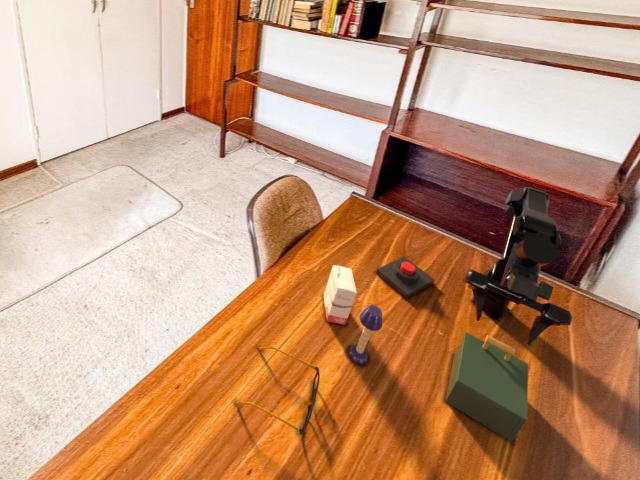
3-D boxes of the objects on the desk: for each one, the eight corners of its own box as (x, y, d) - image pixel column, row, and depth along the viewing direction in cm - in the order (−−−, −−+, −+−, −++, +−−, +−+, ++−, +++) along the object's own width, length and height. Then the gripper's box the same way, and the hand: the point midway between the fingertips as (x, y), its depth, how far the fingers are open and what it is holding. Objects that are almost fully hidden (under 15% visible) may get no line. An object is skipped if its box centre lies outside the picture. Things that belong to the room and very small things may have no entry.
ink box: (347, 326, 101) (357, 293, 96) (326, 322, 102) (336, 289, 97) (342, 298, 109) (351, 266, 104) (323, 294, 110) (331, 263, 104)
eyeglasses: (304, 444, 77) (307, 433, 75) (235, 404, 83) (237, 393, 82) (319, 380, 88) (323, 369, 87) (258, 348, 95) (260, 337, 93)
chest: (454, 355, 95) (464, 336, 92) (513, 387, 88) (526, 368, 86) (445, 401, 85) (455, 382, 82) (511, 442, 79) (525, 422, 76)
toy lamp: (371, 366, 92) (390, 318, 84) (352, 367, 91) (369, 319, 84) (362, 347, 96) (379, 299, 89) (343, 348, 96) (359, 300, 88)
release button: (405, 264, 117) (407, 260, 116) (416, 273, 114) (418, 268, 113) (397, 268, 115) (399, 263, 114) (408, 277, 112) (410, 272, 112)
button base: (402, 260, 122) (405, 251, 121) (432, 283, 114) (436, 275, 113) (375, 273, 117) (378, 264, 116) (406, 298, 109) (409, 289, 108)
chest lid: (464, 334, 93) (471, 321, 91) (526, 365, 86) (535, 352, 84) (455, 382, 82) (463, 369, 80) (525, 422, 76) (535, 409, 74)
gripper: (481, 243, 90) (459, 308, 87) (591, 286, 80) (570, 361, 77) (473, 250, 99) (452, 309, 96) (571, 290, 89) (551, 357, 86)
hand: (502, 332), depth 88 cm, fingers open, 9 cm apart
